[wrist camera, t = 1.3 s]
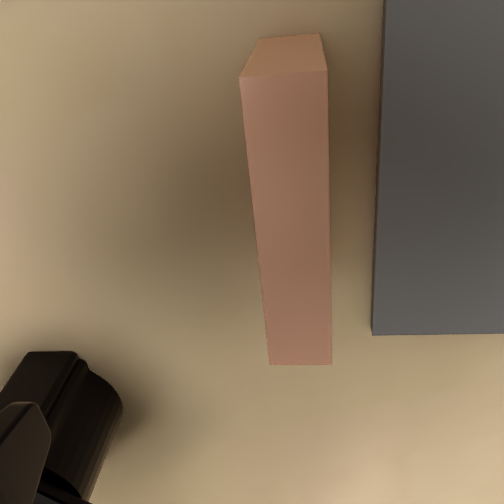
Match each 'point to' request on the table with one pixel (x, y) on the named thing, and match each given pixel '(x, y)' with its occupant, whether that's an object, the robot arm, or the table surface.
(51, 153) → the table surface
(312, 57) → the block
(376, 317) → the mat
